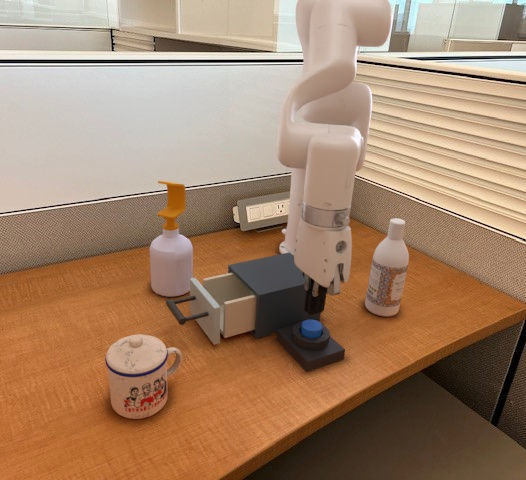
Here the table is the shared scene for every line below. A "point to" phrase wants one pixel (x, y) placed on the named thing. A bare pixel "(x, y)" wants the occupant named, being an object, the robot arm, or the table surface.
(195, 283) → the drawer
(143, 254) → the table surface
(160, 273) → the soap bottle
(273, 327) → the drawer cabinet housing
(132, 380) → the teacup with lid
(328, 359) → the panel
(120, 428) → the table surface
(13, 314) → the table surface
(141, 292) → the table surface
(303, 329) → the button
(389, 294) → the bath foam
